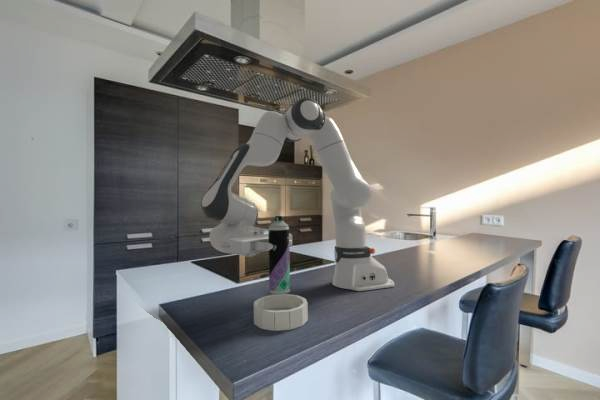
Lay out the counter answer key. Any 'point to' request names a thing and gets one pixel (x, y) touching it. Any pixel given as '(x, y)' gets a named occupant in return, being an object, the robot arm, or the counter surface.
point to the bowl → (280, 312)
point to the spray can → (279, 257)
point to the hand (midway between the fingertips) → (281, 245)
